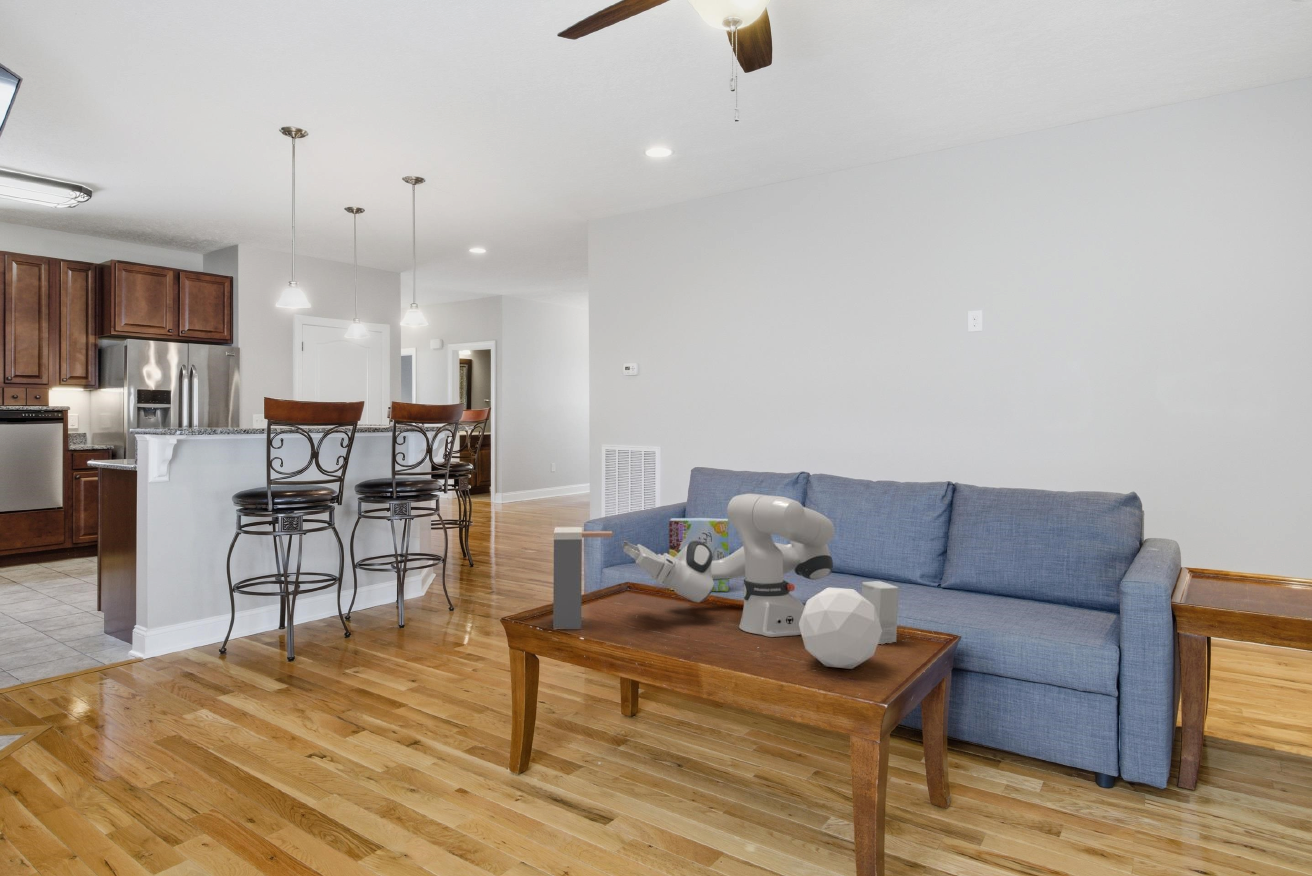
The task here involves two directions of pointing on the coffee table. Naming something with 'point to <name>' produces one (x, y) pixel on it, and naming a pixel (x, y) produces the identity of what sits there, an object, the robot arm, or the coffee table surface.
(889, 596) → the skincare box
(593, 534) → the lid
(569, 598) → the carton
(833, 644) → the geometric sculpture
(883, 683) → the coffee table surface
